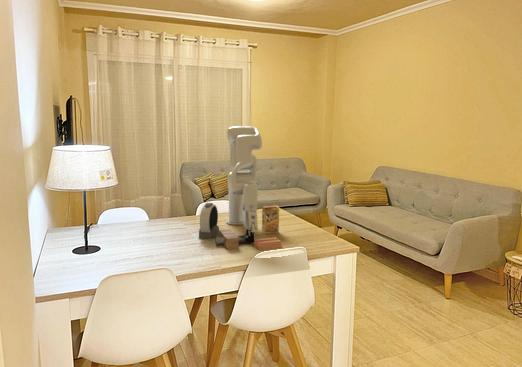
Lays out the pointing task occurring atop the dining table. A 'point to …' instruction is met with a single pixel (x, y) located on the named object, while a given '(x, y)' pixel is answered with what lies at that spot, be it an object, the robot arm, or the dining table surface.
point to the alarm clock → (209, 222)
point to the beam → (229, 239)
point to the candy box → (270, 219)
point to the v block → (267, 243)
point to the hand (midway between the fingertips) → (249, 241)
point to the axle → (241, 237)
